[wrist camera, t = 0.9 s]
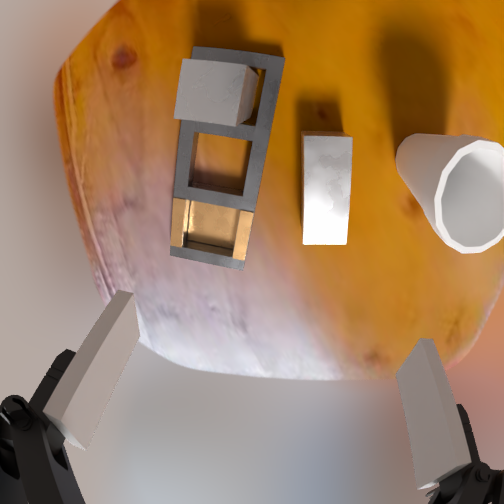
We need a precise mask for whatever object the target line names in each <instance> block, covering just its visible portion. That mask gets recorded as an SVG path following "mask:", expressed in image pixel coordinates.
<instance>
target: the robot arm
mask: <svg viewBox="0 0 504 504" xmlns="http://www.w3.org/2000/svg"><path fill="white" fill-rule="evenodd" d="M139 337H140V332H139V326H138V320H137V314H136V307H135V301H134V294H133V293H130V292H126V291H122V290H118V291H117V292H116V294H115V295H114V297H113V298H112V300H111V301H110V302H109V304H108V305H107V307H106V308H105V310H104V311H103V313H102V314H101V316H100V317H99V319H98V320H97V322H96V323H95V325H94V326H93V328H92V329H91V331H90V332H89V334H88V336H87V337H86V339H85V340H84V342H83V343H82V345H81V347H80V348H79V350H78V351H77V353H76V352H73V351H71V350H68V349H66V350H65V351H64V352H62V353H61V354H59V355H58V356H57V357H56V359H55V360H54V362H53V363H52V365H51V368H49V370H48V372H47V373H46V376H44V378H43V380H42V381H41V383H40V384H39V386H38V388H37V389H36V391H35V393H34V395H33V397H32V398H31V400H30V401H29V403H28V402H27V401H26V400H25V399H24V398H23V397H21V396H19V395H11V396H8V397H6V398H5V400H3V401H2V403H1V405H0V504H28V503H29V504H85V501H84V499H83V497H82V494H81V492H80V489H79V487H78V484H77V482H76V479H75V476H74V474H73V471H72V468H71V465H70V463H69V459H68V456H67V453H66V450H65V447H64V445H63V443H64V440H65V438H66V439H67V440H68V441H69V442H70V444H72V445H75V446H77V447H79V448H81V449H83V450H85V451H87V449H88V447H89V445H90V442H91V440H92V437H93V435H94V433H95V430H96V428H97V426H98V424H99V421H100V419H101V417H102V415H103V412H104V410H105V408H106V406H107V404H108V401H109V399H110V397H111V395H112V393H113V391H114V388H115V386H116V384H117V382H118V380H119V378H120V376H121V374H122V372H123V369H124V367H125V365H126V363H127V361H128V359H129V357H130V355H131V353H132V351H133V349H134V347H135V345H136V343H137V341H138V339H139ZM396 378H397V382H398V386H399V391H400V395H401V400H402V404H403V408H404V414H405V418H406V424H407V429H408V434H409V440H410V446H411V451H412V458H413V465H414V472H415V479H416V488H417V490H418V489H422V488H428V487H431V486H433V485H435V484H437V483H438V482H439V485H440V486H439V487H437V488H435V489H434V490H432V491H430V492H428V493H427V495H426V497H428V496H429V495H431V494H433V496H431V497H430V501H429V503H428V504H488V503H490V502H492V504H504V470H502V471H501V470H492V469H490V467H489V466H488V465H487V464H486V463H483V462H481V461H480V458H479V455H478V450H477V446H476V443H475V439H474V436H473V432H472V428H471V425H470V424H469V423H470V421H469V418H468V415H467V412H466V410H465V409H464V408H463V406H462V405H461V404H456V403H455V399H454V396H453V393H452V390H451V387H450V384H449V381H448V379H447V376H446V373H445V370H444V367H443V365H442V362H441V359H440V357H439V354H438V352H437V349H436V346H435V344H434V341H433V339H424V338H420V339H419V341H418V342H417V344H416V345H415V347H414V348H413V350H412V351H411V353H410V354H409V356H408V357H407V359H406V360H405V362H404V363H403V364H402V366H401V367H400V369H399V370H398V371H397V373H396Z"/></svg>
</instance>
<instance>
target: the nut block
mask: <svg viewBox="0 0 504 504" xmlns="http://www.w3.org/2000/svg"><path fill="white" fill-rule="evenodd" d="M301 161H302V204H301V229H302V238H303V244H346V239H347V228H348V216H349V203H350V187H351V167H352V137H351V136H350V135H348V134H346V133H345V132H335V131H301Z"/></svg>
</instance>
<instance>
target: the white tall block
mask: <svg viewBox="0 0 504 504" xmlns="http://www.w3.org/2000/svg"><path fill="white" fill-rule="evenodd" d="M258 79H259V76H258V75H257V74H256V73H255V72H254V71H253V70H252V69H251V68H249V67H248V66H247V65H243V64H235V63H227V62H218V61H207V60H194V59H183V61H182V66H181V72H180V79H179V85H178V91H177V98H176V105H175V113H174V119H183V120H192V121H200V122H207V123H215V124H221V125H228V126H234V127H236V126H237V125H239V124H241V123H242V122H244V121H245V120H247V119H249V118H250V117H251V116H252V111H253V105H254V100H255V95H256V90H257V84H258Z"/></svg>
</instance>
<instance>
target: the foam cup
mask: <svg viewBox="0 0 504 504" xmlns="http://www.w3.org/2000/svg"><path fill="white" fill-rule="evenodd" d="M395 161H396V166H397V172H398V173H399V175H400V176H401V178H402V179H403V180H404V182H405V183H406V185H407V186H408V188H409V189H410V191H411V192H412V193H413V195H414V196H415V198H416V199H417V201H418V202H419V204H420V205H421V207H422V208H423V210H424V214H425V215H426V217H427V219H428V221H429V222H430V224H431V226H432V228H433V229H434V231H435V232H436V233H437V234H438V236H439V237H440V238H441V239H442V240H443V241H444V242H445V243H446V244H447V245H448V246H450V247H452V248H454V249H455V250H457V251H459V252H460V253H462V254H464V253H481V252H483V251H484V250H486V249H488V248H489V247H491V246H493V245H494V244H496V243H498V242H499V241H500V239H501V238H502V237H503V236H504V148H503V147H502V146H501V145H500V144H499V143H497V142H494V141H491V140H489V139H486V138H483V137H478V136H471V135H464V134H463V135H460V136H450V135H437V134H420V133H415V134H413V135H411V136H409V137H406V138H405V139H404V140H403V142H402V143H401V144H400V146H399V147H398V150H397V154H396V158H395Z"/></svg>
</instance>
